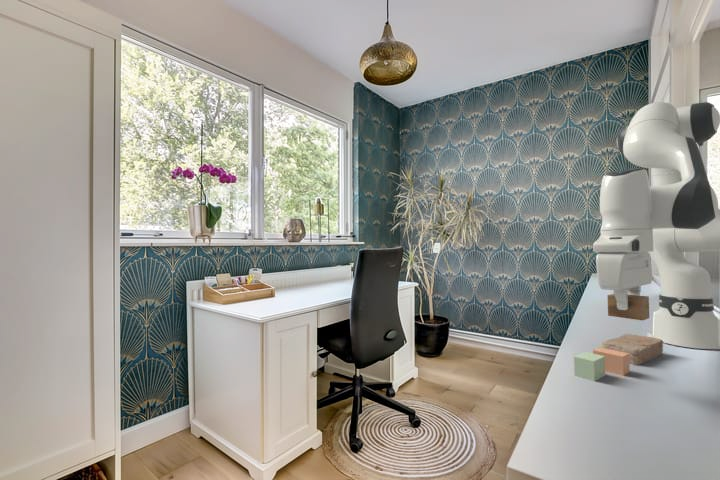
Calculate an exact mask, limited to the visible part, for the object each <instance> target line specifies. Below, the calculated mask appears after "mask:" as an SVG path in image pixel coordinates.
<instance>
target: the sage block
mask: <svg viewBox="0 0 720 480" xmlns="http://www.w3.org/2000/svg"><path fill="white" fill-rule="evenodd" d="M573 363H574V364H573V365H574V366H573V370H574V377H578V378H581V379H585V380H589V381H592V382H596V381H598V380H599V379H601V378H604V377H605V376H606V371H605V356H602V355H597V354H593V352H589V351H588V352H587V351H584V352H582V353H579V354H577V355H575V356H573Z"/></svg>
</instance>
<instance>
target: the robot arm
mask: <svg viewBox="0 0 720 480" xmlns="http://www.w3.org/2000/svg"><path fill="white" fill-rule="evenodd" d="M719 127H720V112H719V110H718V109H717V108H716V107H715V105H714V104H712V103H711V102H709V101H707V102H705V101H704V102H696V103H695V102H694V103H691V105H686V106H681V107H675V106H674V105H673V104H671V103H668V102H664V101H659V102H658V101H656V102H651V103H649V104H646V105H644V106H642V107H641V108H640V109H638V110H637V112H635V114H634V115H633V117H632V119H631V120H630V121H629V122H628V123H626V124H623V125H622V126H621V127H620V128H619V130H618V132H617V136H616V146H617V148H618V150H619V153H621V154H622V155H623V156H624V157H625V159H626V160H627V161H628V162H629V163H631V164H633V165H635V166H636V167H635V168H629V169H625V170H624V169H623V170H616V171H612V172H608V173H606V174H604V175H603V177H602V179H601V185H600V191H599V213H600V217H601V221H602V222H601V226H600V231H599V233H600V236H599V237H598V238H597V239H596V240H595V241H594V242H593V247H592V251H593V253H597V254H596V258H595V261H596V263H595V264H596V276H597V282H598V286H599V287H600V289H602V290H608V291H613V294H614V295H615V298H616V301H617V308H618V309H619V310H628V309H629V308H630V306H629V305H630V301H628V296H627V295H637V296H641V293H642V292H641V291H642V286H646V285H651V284H652V281H653V267H652V261H653V262H654V264H655V266H656V269H657V270H658V275H659V276H658V277H659V283H660V284H659V286H660V294H659V296H658V306H659V308H658V309H657V310H655V311H654V312H653V314H652V315H653V319H652V320H653V321H652V331H651V332H647V333H646V337H654V338H658V339H661V340H663V344H669V345H673V346H678V347H683V348H684V347H685V348H691V349H700V350H720V319H719V318H718V316H716V315H715V313H714V311H715V308H714V307H715V304H714V299H713V298H712V292H711V288H712V287H711V275H710V273H709V272H708V271H707V269H705V268H704V267H702V266H700V265H698V264H697V263H696V264H695V263H694V262H690V261H689V260H688V259H687V258H686V257H685V254H684V253H686V252H689V253H690V252H691V253H692V252H693V253H705V252H706V253H707V252H708V253H711V252H712V253H714V252H715V253H716V252H720V208H719V200H718V196H717V195H716V192H715V190H714V188H713V187H712V186H711V184H710V182H709V179H708V175H707V170H706V167H705V164H704V160H703V157H702V154H701V152H700V149H699V148H700V147H702V146H704V143H706V142H707V141H709V140H710V139H712V138H713V137H714V136H715V135H716V134H717V132H718V129H719ZM639 167H640V168H639ZM644 168H645V169H644ZM646 169H650V170H651V179H652V180H651V181H652V186H651V184H650V180H649V179H650V178H649V174H648V172H647V170H646Z"/></svg>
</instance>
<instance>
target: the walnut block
mask: <svg viewBox="0 0 720 480" xmlns="http://www.w3.org/2000/svg"><path fill="white" fill-rule="evenodd" d="M627 296H628V301H630V305H629V306H630V308H629V309H628V310H619V309H618V308H617V301H616V298H615V295H614V293H611V294H607V316H608V317H616V318H621V319H622V318H623V319H628V320H636V321H645V320H648V319H650V299H649V298H650V297H649V296H646V295H640V296H637V295H628V294H627Z"/></svg>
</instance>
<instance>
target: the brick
mask: <svg viewBox="0 0 720 480" xmlns="http://www.w3.org/2000/svg"><path fill="white" fill-rule="evenodd" d="M601 348H605V349H610V350H615V351H620V352H625V353H629V365H631V364H633V365H632V366H639V365H642V364H644V363H646V361H647V362H648V361H651V360H654V359H655V358H658V357H660V356H661V355H662V354H663V351H664V342H663V340H661V339H658V338H654V337H648V336H647V335H646V336H645V335H638V334H632V333H626V334H625V333H624V334H622V335H621V336H619V337H615V338H611V339H607V340H604V341H603V342H602V346H601ZM653 358H654V359H653Z"/></svg>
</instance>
